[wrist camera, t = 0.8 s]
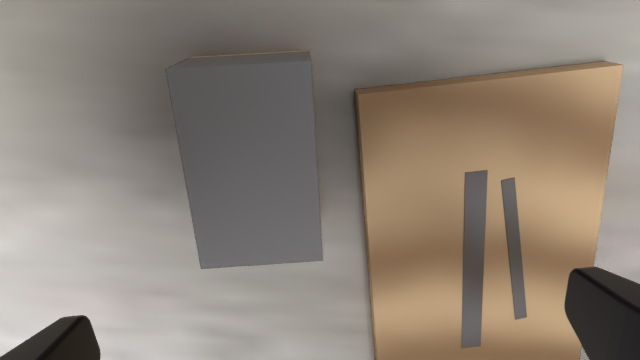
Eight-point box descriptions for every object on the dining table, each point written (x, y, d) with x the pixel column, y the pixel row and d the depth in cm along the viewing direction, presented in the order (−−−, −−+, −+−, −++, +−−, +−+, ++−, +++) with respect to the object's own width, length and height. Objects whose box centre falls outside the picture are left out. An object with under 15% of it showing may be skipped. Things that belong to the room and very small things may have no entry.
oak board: (563, 373, 26) (575, 391, 25) (377, 394, 26) (381, 412, 25) (605, 61, 19) (624, 65, 18) (354, 89, 19) (358, 95, 18)
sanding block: (319, 217, 22) (322, 260, 18) (217, 223, 22) (200, 268, 18) (309, 49, 19) (311, 60, 15) (191, 56, 19) (165, 69, 15)
